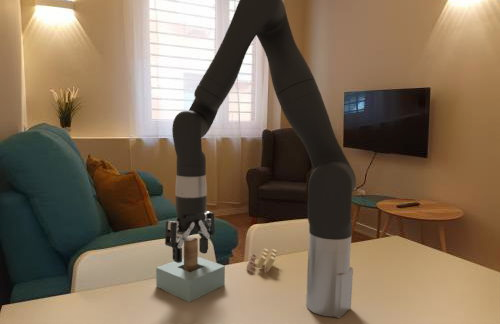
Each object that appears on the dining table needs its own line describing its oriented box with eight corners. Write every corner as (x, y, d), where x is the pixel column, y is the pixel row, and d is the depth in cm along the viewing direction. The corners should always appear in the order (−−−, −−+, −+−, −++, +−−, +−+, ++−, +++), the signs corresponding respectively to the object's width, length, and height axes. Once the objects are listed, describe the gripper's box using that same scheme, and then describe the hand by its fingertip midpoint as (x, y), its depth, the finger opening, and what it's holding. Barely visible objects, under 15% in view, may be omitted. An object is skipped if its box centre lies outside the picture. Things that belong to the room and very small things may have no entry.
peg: (200, 285, 95) (200, 239, 94) (190, 290, 93) (190, 242, 91) (191, 281, 97) (191, 236, 96) (180, 286, 95) (180, 239, 93)
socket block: (224, 284, 96) (224, 266, 95) (189, 302, 87) (189, 281, 86) (192, 272, 103) (192, 254, 103) (156, 286, 94) (156, 267, 93)
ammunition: (277, 248, 110) (250, 246, 111) (275, 258, 103) (246, 255, 104) (276, 264, 111) (249, 262, 112) (274, 274, 104) (245, 272, 105)
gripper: (179, 200, 84) (179, 269, 86) (222, 191, 95) (221, 253, 97) (157, 195, 89) (158, 261, 91) (201, 187, 100) (201, 246, 102)
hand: (191, 257), depth 94 cm, fingers open, 8 cm apart
